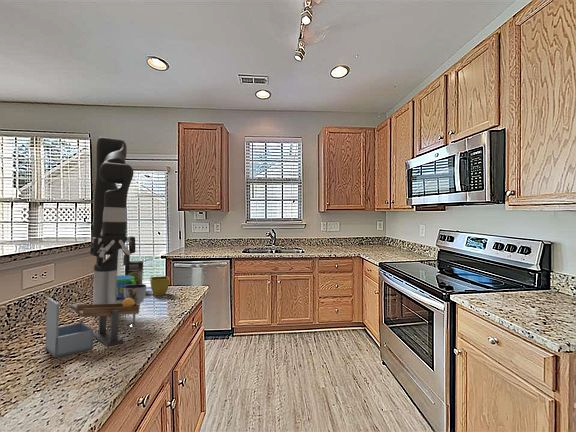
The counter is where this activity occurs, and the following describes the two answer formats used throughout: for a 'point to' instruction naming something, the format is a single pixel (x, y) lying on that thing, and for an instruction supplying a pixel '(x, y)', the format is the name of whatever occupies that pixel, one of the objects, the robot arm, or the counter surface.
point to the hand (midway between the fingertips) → (113, 266)
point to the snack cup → (123, 284)
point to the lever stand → (106, 335)
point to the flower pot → (159, 285)
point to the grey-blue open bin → (65, 334)
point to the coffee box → (135, 270)
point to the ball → (128, 302)
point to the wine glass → (135, 299)
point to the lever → (103, 309)
